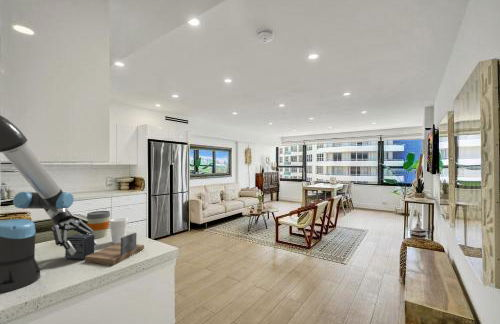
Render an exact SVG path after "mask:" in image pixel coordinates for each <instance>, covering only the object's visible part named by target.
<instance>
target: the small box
mask: <svg viewBox="0 0 500 324" xmlns="http://www.w3.org/2000/svg"><path fill="white" fill-rule="evenodd" d="M94 236H95V235H84V234H81V233H78V234H77V233H76V234H73V235H70V236H67V240H66V242H67V241H69V242H70V243H71V244H72V246H73V247H74V249H75V250H76V252H75V254H74V255H72V256H71V254H70V253H69V251H68V250H66V249H65V248H64V250H65V253H64V255H65V256H64V259H65V260H74V261H76V260H77V261H85V256H88V255H90V254H93V253H95V247H94V240H95V239H94Z"/></svg>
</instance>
